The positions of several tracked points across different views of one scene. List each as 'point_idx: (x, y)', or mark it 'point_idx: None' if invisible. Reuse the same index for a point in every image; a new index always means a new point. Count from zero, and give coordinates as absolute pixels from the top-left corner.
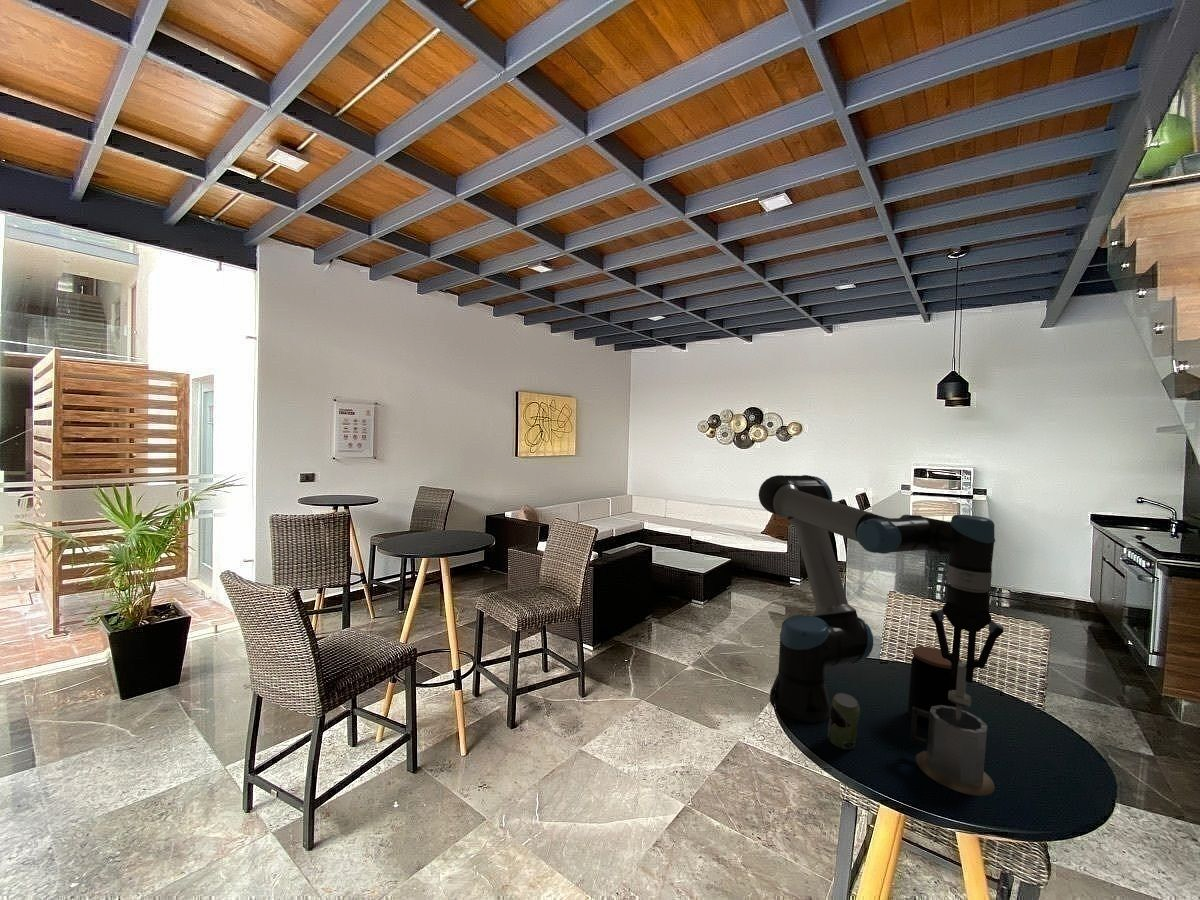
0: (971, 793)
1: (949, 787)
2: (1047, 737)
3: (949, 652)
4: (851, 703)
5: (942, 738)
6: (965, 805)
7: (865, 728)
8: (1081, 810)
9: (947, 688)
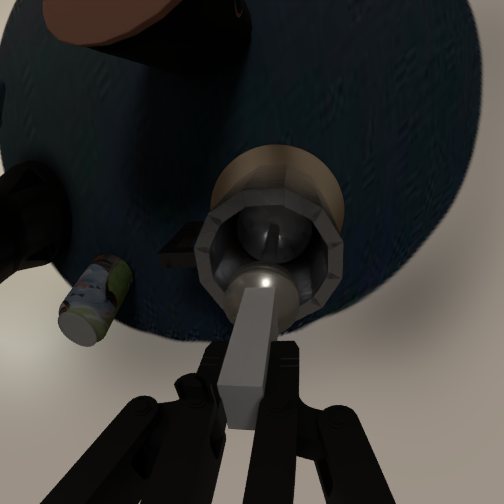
0: None
1: None
2: None
3: (160, 431)
4: (87, 333)
5: None
6: None
7: (115, 182)
8: (456, 159)
9: (200, 35)
